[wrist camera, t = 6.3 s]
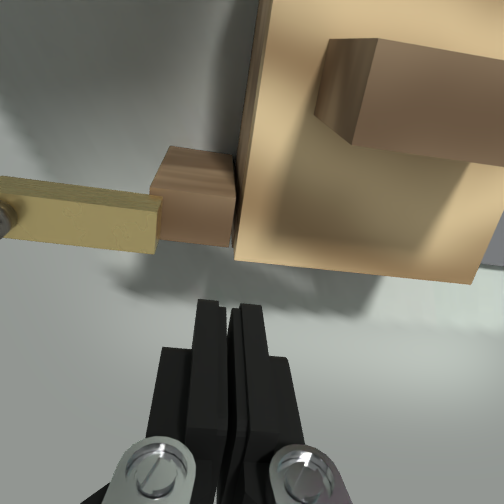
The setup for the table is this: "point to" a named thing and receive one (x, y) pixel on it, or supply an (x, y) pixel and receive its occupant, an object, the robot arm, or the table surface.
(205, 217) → the open wooden box
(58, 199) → the yellow bar with ball
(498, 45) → the lid
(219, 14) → the table surface
